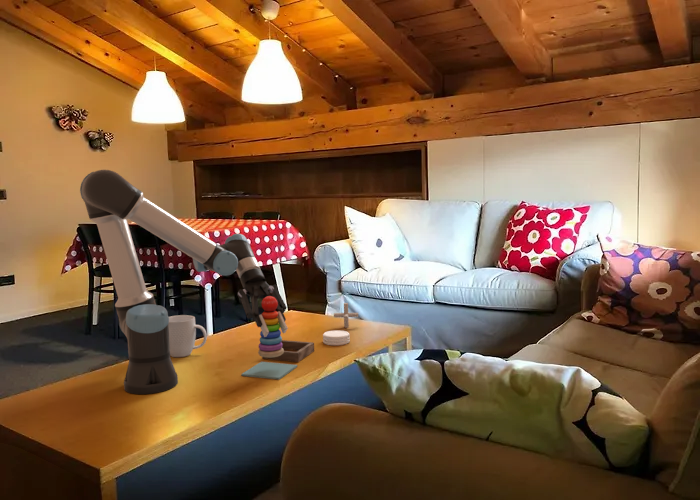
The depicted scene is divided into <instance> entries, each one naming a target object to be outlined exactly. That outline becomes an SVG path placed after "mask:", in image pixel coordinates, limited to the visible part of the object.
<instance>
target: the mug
mask: <svg viewBox="0 0 700 500" xmlns="http://www.w3.org/2000/svg"><path fill="white" fill-rule="evenodd" d="M168 317H169V322H168V323H169V342H170V357H172V358H184V357H188V356H190V355H191V354H192V352H193V350H197V349H200V348H202V347H203V346H204V345H206V342H207V338H208V335H207V331H206V329H205V327H203V326H202V325H200V324H196V317H195V316H194V315H187V314H180V315H178V314H177V315H172V316H168ZM197 329H198V330H199V329H200V331H201V332H202V334H203V340H202V342H201V343H200V344H198V345H195V343H196V339H197V336H196V335H197Z"/></svg>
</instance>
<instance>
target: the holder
mask: <svg viewBox="0 0 700 500" xmlns="http://www.w3.org/2000/svg"><path fill="white" fill-rule="evenodd" d="M281 342H282V344H283V346H282V348H283V349H284V353H283V354H282V355H280V356H278V357H272V358H266V357H262V359H263V360H272V361H273V360H274V361H283V362H284V361H285V362H286V361H287V362H294V363H297V362H298V363H299V362H301V361H302V360H303V359H305V358H306V357H307V356H309V355H310V354H312V353H313V352H314V351H315V342H313V341H312V342H311V341H310V342H309V341H298V340H297V341H296V340H285V339H284V340H283V339H282V341H281ZM288 350H289V351H288Z"/></svg>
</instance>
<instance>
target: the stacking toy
mask: <svg viewBox="0 0 700 500" xmlns="http://www.w3.org/2000/svg"><path fill="white" fill-rule="evenodd" d="M260 306H261V309H263V310H264V311H263V312H262V313H261V314H262V317H263V319H264V321H265V323H266V326H267V328H268V330H269V333H268V335H267V337H264V335H263V333H262V330H260V333H259V335H260V337H259V344H258V349H259V350H258V352H257V353H258V355H259V357H262V358H263V357H266V358H272V357H278V356H280V355H282V354H283V353H284V351H285V349H283V348H282V346H283V344H282V342H281V341H282V340H283V337H282V336H281V334H282V330H281V328H280V325H279V323H278V322H279V320H278V318H277V316H278V312H277V311H275V310H276V308H277V306H278V302H277V300H276V298H274V297H273V296H272V295H271V296H267V297H265V298H264V299H262V300H261V305H260Z"/></svg>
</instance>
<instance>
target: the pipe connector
mask: <svg viewBox="0 0 700 500" xmlns="http://www.w3.org/2000/svg"><path fill="white" fill-rule="evenodd" d="M333 318H343V327H344V328H346V329H348V328H349V325H350V324H349V323H350V322H349V318H359V312H349V302H344V303H343V312H334V313H333Z"/></svg>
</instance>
